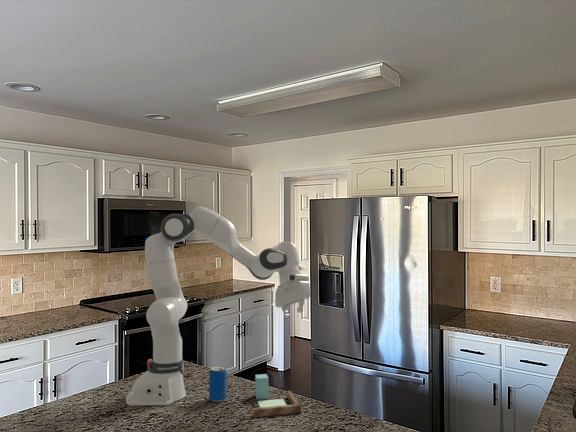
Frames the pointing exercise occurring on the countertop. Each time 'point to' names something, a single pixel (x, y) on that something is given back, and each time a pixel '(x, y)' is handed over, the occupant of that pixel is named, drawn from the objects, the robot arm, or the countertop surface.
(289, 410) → the corner walls
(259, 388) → the teal block
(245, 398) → the countertop surface
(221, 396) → the beverage can
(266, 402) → the pad
